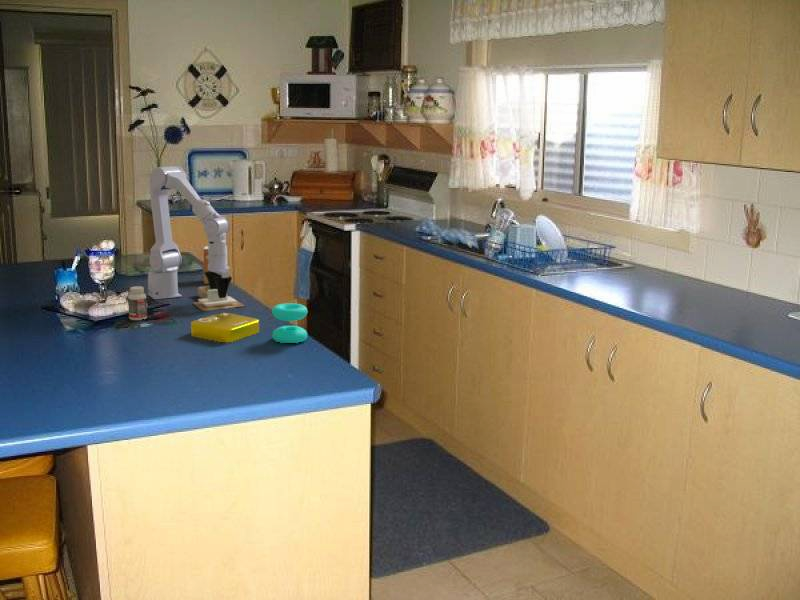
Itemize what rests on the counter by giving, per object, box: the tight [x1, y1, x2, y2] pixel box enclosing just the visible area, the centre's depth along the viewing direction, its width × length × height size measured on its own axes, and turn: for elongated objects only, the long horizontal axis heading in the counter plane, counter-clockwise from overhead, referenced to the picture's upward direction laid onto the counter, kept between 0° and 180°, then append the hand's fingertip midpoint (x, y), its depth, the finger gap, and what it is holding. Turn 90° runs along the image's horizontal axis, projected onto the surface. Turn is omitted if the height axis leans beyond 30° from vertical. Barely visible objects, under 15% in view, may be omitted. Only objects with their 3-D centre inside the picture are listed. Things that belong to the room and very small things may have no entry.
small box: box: [203, 245, 228, 285], centre depth 309 cm, size 8×6×13 cm
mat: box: [192, 299, 246, 312], centre depth 277 cm, size 14×11×1 cm
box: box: [197, 285, 229, 299], centre depth 287 cm, size 7×10×3 cm
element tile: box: [190, 311, 260, 344], centre depth 245 cm, size 15×15×5 cm
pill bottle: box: [127, 285, 148, 321], centre depth 258 cm, size 5×5×10 cm
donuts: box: [271, 302, 309, 344], centre depth 240 cm, size 10×10×10 cm
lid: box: [197, 289, 238, 307], centre depth 277 cm, size 8×11×5 cm
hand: (218, 295), depth 277 cm, fingers open, 7 cm apart
